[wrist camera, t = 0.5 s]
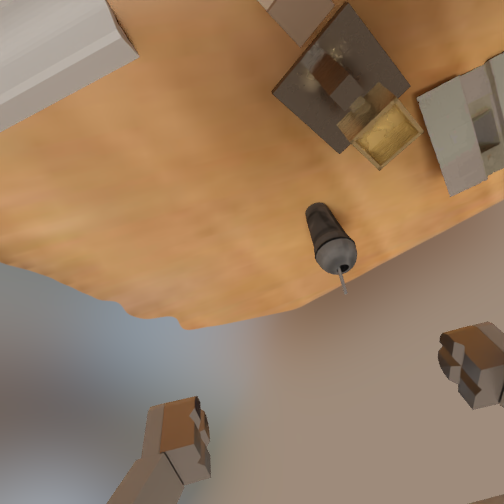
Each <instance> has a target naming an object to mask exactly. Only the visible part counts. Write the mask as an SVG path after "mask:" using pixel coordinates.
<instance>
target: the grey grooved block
mask: <svg viewBox="0 0 504 504" xmlns="http://www.w3.org/2000/svg"><path fill="white" fill-rule="evenodd" d="M417 101H418V102H419V106H420V109H421V110H422V111H421V112H422V114H423V116H424V121H425V124H426V126H427V129H428V130H427V131H428V134H429V136H430V139H431V142H432V144H433V148H434V150H435V152H436V156H437V159H438V163H440V168H441V171H442V174H443V177H444V179H445V180H444V181H445V183H446V186H447V189H448V191H449V194H450V195H451V196H454V195H456V194H458V193H460V192H462V191H464V190H465V189H466V190H467V189H469V188H471V187H472V186H475V185H477V184H479V183H481V182H482V181H486V180H487V179H488V177H487V176H488V175H490V174H492V173H493V172H496V171H498V170H500V169H503V168H504V52H503V54H499V55H498V56H496V57H494V58H492V59H490V60H488V62H486V63H485V64H484V65H482V66H480V67H477V68H476V69H473V70H472V71H470V72H467V73H466V74H464V75H462V76H460V75H459V76H458V77H455V78H453V79H451V80H449V81H447V82H446V83H443V84H442V85H440V86H438V88H437V87H436V88H434V89H432V90H431V91H429V92H426V93H424V94H423V95H421V96H418V97H417ZM451 196H450V197H451Z"/></svg>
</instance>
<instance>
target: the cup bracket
mask: <svg viewBox="0 0 504 504" xmlns="http://www.w3.org/2000/svg"><path fill="white" fill-rule="evenodd" d="M409 87H410V84H409V83H408V82H407V80H406V79H405V78H404V76H403V75H402V74H401V72H400V71H399V70H398V68H397V67H396V66H395V64H394V63H393V62H392V60H391V59H390V58H389V56H388V55H387V54H386V52H385V51H384V50H383V48H382V47H381V46H380V44H379V43H378V42H377V40H376V39H375V38H374V36H373V35H372V34H371V32H370V31H369V30H368V28H367V27H366V26H365V24H364V23H363V22H362V20H361V19H360V18H359V16H358V15H357V14H356V12H355V11H354V10H353V8H352V7H351V6H350V4H349V3H348V2H345V3H344V4H343V5H342V6H341V8H340V9H339V10H338V11H337V13H336V14H335V15H334V16H333V17H332V19H331V20H330V21H329V22H328V23H327V25H326V26H325V27H324V28H323V30H322V31H321V32H320V33H319V34H318V36H317V37H316V38H315V39H314V40H313V42H312V43H311V44H310V45H309V47H308V48H307V49H306V50H305V51H304V53H303V54H302V55H301V56H300V57H299V59H298V60H297V61H296V62H295V63H294V65H293V66H292V67H291V68H290V70H289V71H288V72H287V73H286V74H285V76H284V77H283V78H282V79H281V80H280V82H279V83H278V84H277V85H276V87H275V88H274V89H273V90H272V91H271V92H272V94H273V95H274V96H275V97H277V98H278V99H279V100H280V101H281V102H282V103H283V104H284V105H285V106H287V107H288V108H289V109H290V110H291V111H292V112H293V113H294V114H295V115H297V116H298V117H299V118H300V119H301V120H302V121H303V122H304V123H305V124H307V125H308V126H309V127H310V128H311V129H312V130H313V131H314V132H315V133H317V134H318V135H319V136H320V137H321V138H322V139H323V140H324V141H325V142H326V143H328V144H329V145H330V146H331V147H332V148H333V149H334V150H335V151H336V152H338V153H339V154H340V153H341V152H342V151H344V150H345V149H346V148H347V147H348V146H349V145H350V144H352V145H353V146H354V147H355V148H356V149H357V150H358V151H359V152H360V153H361V154H363V155H364V156H365V157H366V158H367V159H368V160H369V161H370V162H371V163H372V164H373V165H374V166H375V167H376V168H377V169H378V170H379V171H380V170H381V169H382V168H383V167H384V166H385V165H387V164H388V163H389V162H390V161H391V160H392V159H393V158H395V157H396V156H397V155H398V154H399V153H400V152H402V151H403V150H404V149H405V148H406V147H407V146H408V145H410V144H411V143H412V142H413V141H414V140H415V139H417V138H418V137H419V136H420V135H421V134H422V133H423V132H424V130H423V129H422V128H421V127H420V125H419V124H418V123H417V122H416V120H415V119H414V118H413V117H412V116H411V114H410V113H409V112H408V111H407V109H406V108H405V107H404V106H403V104H402V103H401V102H400V101H399V99H398V98H399V97H400V96H401V95H402V94H403V93H404V92H405V91H406V90H407V89H408V88H409Z"/></svg>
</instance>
